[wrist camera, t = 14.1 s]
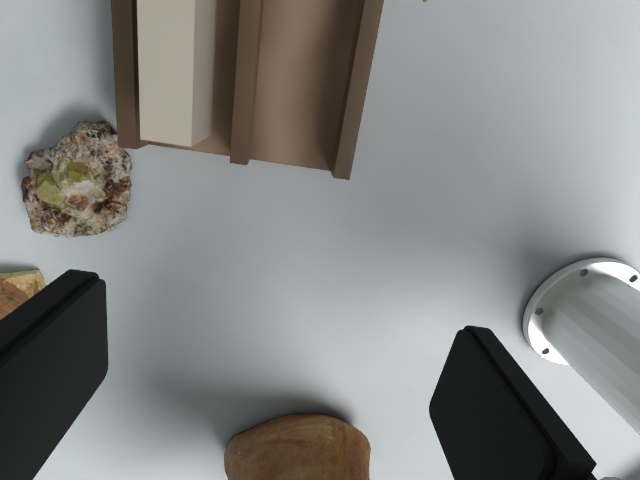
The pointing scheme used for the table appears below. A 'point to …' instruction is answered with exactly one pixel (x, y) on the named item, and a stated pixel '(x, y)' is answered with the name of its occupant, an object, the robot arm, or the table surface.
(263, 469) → the ceramic vessel
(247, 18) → the walnut rack
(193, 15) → the strip
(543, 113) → the table surface
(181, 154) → the table surface
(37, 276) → the shard
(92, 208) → the mineral rock
